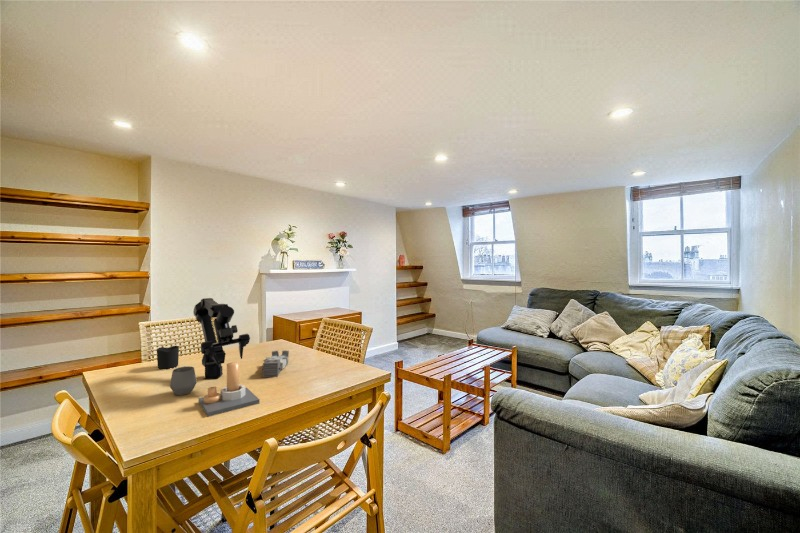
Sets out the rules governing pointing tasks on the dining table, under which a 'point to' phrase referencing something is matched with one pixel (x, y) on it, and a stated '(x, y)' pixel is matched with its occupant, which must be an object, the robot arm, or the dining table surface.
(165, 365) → the pen holder
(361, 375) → the dining table surface
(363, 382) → the dining table surface
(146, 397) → the dining table surface
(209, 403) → the octagonal socket plate
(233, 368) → the tan peg
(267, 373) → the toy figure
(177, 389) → the cup
